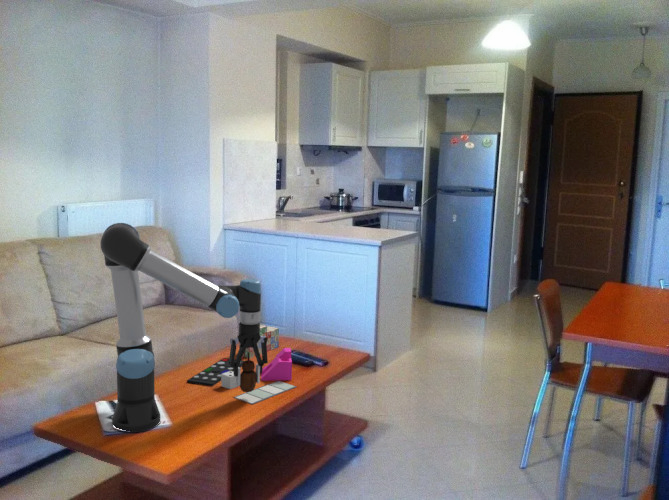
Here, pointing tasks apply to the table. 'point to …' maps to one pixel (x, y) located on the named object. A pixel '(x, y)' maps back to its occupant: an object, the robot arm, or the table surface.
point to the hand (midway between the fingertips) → (247, 383)
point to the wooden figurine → (248, 376)
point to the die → (228, 380)
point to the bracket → (279, 367)
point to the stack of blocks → (272, 340)
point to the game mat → (264, 392)
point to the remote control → (213, 373)
